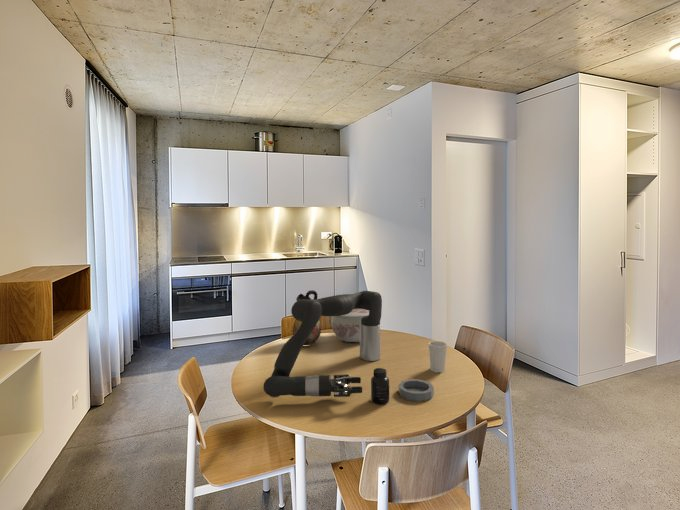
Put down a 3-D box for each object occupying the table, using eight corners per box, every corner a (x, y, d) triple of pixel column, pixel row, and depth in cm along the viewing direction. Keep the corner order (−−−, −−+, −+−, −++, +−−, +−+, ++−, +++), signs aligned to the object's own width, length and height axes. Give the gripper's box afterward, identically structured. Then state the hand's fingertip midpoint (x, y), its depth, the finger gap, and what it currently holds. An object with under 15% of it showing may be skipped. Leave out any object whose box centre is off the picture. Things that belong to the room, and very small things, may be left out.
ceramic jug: (300, 350, 206) (299, 294, 203) (288, 343, 219) (287, 290, 216) (328, 344, 215) (327, 290, 212) (315, 337, 228) (314, 286, 225)
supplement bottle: (369, 397, 151) (369, 367, 150) (387, 396, 151) (387, 366, 150) (372, 405, 144) (372, 374, 143) (391, 404, 145) (391, 373, 143)
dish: (394, 397, 151) (394, 389, 150) (405, 384, 162) (405, 377, 162) (427, 404, 144) (427, 396, 144) (436, 390, 156) (437, 383, 156)
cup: (447, 373, 173) (447, 347, 171) (428, 372, 174) (428, 346, 173) (446, 367, 180) (446, 341, 179) (428, 366, 182) (428, 340, 181)
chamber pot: (382, 345, 213) (382, 307, 211) (333, 348, 209) (332, 310, 207) (370, 330, 241) (370, 297, 239) (326, 333, 236) (325, 299, 234)
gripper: (317, 384, 139) (362, 383, 140) (318, 368, 154) (360, 367, 154) (317, 404, 140) (363, 403, 140) (319, 387, 154) (360, 386, 155)
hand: (361, 384), depth 147 cm, fingers open, 8 cm apart
